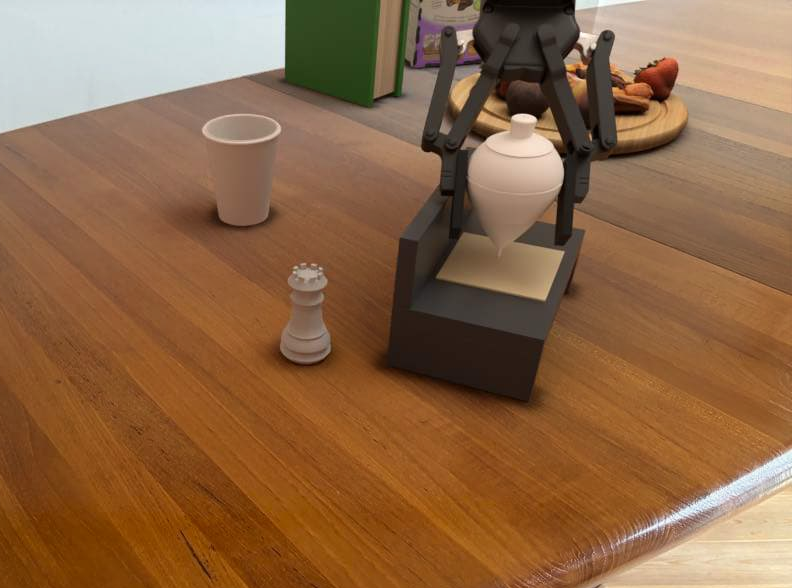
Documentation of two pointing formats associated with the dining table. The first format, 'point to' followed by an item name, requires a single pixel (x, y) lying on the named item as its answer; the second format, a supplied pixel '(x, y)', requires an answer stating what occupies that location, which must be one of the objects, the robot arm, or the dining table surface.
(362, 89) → the hardback book
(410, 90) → the dining table surface
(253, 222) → the dixie cup
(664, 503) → the dining table surface
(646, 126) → the wooden plate
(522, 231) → the spinning top
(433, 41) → the candy box
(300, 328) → the rook chess piece
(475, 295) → the dark l-shaped stand
